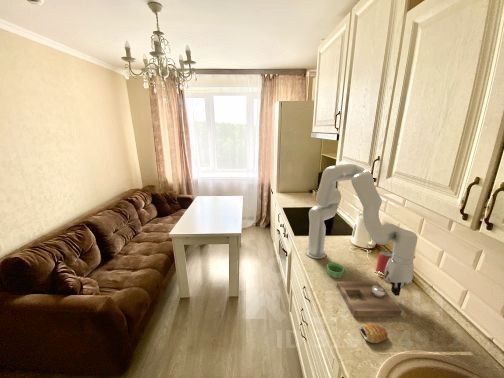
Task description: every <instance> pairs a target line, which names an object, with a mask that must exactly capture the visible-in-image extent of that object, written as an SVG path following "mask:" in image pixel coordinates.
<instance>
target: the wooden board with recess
mask: <svg viewBox="0 0 504 378" xmlns="http://www.w3.org/2000/svg"><path fill="white" fill-rule="evenodd" d="M374 285H377V286H380V287H382V285H381V284H380V283H379V282H378V281H375V280H374V281H336V288H337V290H338V292H339V293H340V296H341V297H342V299H343V301H344V303H345V304H346V306H347V308H348V309H349V312H350V314H351V315H352V317H353V318H356V317H357V318H358V317H361V318H362V317H363V318H364V317H365V318H368V317H371V318H372V317H373V318H375V317H401V316H402V312H403V310H402V309H401V308H400V307H399V305H398V304H397V303H396V302H395V301H394V300H393V298H392V297H391V296H390V295H389V294H388V292H387V291H386V290H385V293H384V298H383V299H378V298H376V297H374V296H373V295H372V294H371V291H372V286H374ZM349 295H350V296H351V295H359V297H360V299H361V300H352V299H351V298H350V296H349Z"/></svg>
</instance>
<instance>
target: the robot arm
mask: <svg viewBox="0 0 504 378" xmlns="http://www.w3.org/2000/svg"><path fill="white" fill-rule="evenodd" d="M364 168H365V167H362V166H360V165H358V164H357V165H356V164H353V163H345V164H338V165H337V164H335V165H331V166H328V167H326V168H325V169H324V170H323V172H322V174H321V178H320V183H319V185H318V190H317V192H316V196H315V202H316V204H317V205H314V206H313V207H311V208H310V209H309V211H308V220H309V226H308V227H309V229H308V230H309V232H308V244H307V247H306V248H305V252H304V253H305V255H307V256H308V257H309V258H312V259H316V260H320V259H324V258H326V256H327V252H326V251H325V243H326V242H325V241H326V230H327V228H326V224H325V221H326V220H327V221H328V220H330V219H331V218H332V219H333V217H335V215H336V214H337V211H338V209H339V206H340V202H341V201H342V194H341V193H342V192H341V191H340V190H339V189H338V188H337V182H344V181H349V180H350V182H351V185H352V187H353V189H354V191H355V193H356V195H357V197H358V199H359V202H360V204H361V205H362V219H363V224H364V227H365V230H366V232H367V234H368V236H369V238H370V239H371V240H372V242H374V243H375V244H376V245H379V246H380V245H381V246H385V245H386V244H389V243H390V242H394V243H393V248H392V251H391V252H392V253H391V254H392V258H389V260H388V262H387V265H386V268H385V272H384V275H383V276H384V277H385V279H384V281H385V283H386V284H390V285H391V289H390V290H391V291H390V292H391V293H392V294H393V295H394V296H395V297H399V296H400V293H401V289H403V287H404V285H407V284H410V283H411V282H412V281H413V278H414V271H415V270H414V268H415V267H414V262H413V261H414V259H416V256H415V252H416V248H417V244H418V234H416V232H414V231H412V230H409V229H404V228H402V227H399V226H397V225H395V224H393V223H390V222H389V223H388V222H386V223H384V224H382V222H381V219H380V216H379V213H380V208H381V207H382V203H383V201H382V200H383V199H382V198H381V196H380V194H379V192H378V190H377V187H376V186H374V179H373V175H372V174H371V173H370V172H369V171H366V170H365V169H366V168H365V169H364Z"/></svg>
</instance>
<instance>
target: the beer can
mask: <svg viewBox="0 0 504 378" xmlns="http://www.w3.org/2000/svg"><path fill="white" fill-rule="evenodd" d="M389 258H392V253H391V252H389V251H387V250H380V251H379V254H378V256H377V263H376V269H375V271H376V272H377V271H380V272H382V273H383V274H384V272H385V268H386V265H387V262H388V260H389Z"/></svg>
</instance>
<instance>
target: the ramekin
mask: <svg viewBox="0 0 504 378" xmlns="http://www.w3.org/2000/svg"><path fill="white" fill-rule="evenodd" d="M333 270H335V271H333ZM326 272H327V275H328V276H330V277H331V278H334V279H340V278H343V276H344V272H345V267H344V266H343V265H342V264H340V263H337V262H329V263H327V264H326Z"/></svg>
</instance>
